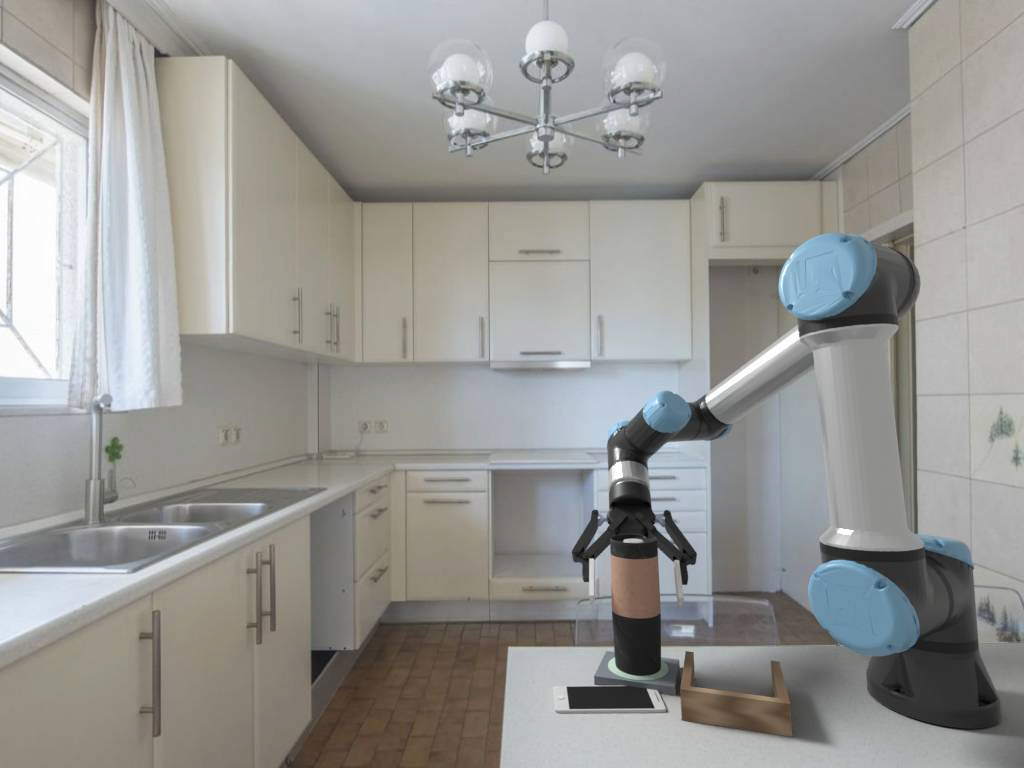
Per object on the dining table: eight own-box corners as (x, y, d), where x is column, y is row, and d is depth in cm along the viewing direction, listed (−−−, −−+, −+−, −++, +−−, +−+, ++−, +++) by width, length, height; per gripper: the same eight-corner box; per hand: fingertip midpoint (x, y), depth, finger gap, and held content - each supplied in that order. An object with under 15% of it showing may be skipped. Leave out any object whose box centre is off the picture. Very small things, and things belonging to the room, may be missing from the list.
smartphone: (553, 691, 85) (552, 685, 85) (655, 690, 84) (655, 684, 84) (555, 716, 78) (554, 709, 78) (666, 716, 77) (666, 708, 77)
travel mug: (614, 675, 86) (610, 543, 87) (612, 654, 93) (608, 533, 94) (665, 677, 84) (660, 543, 86) (659, 656, 92) (655, 533, 93)
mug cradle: (781, 689, 83) (779, 661, 83) (792, 736, 71) (790, 704, 71) (686, 677, 88) (685, 651, 88) (681, 719, 75) (680, 689, 75)
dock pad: (679, 667, 91) (679, 658, 91) (675, 695, 82) (674, 685, 82) (606, 658, 95) (606, 649, 95) (594, 684, 86) (594, 674, 86)
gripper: (698, 504, 103) (717, 615, 87) (563, 504, 108) (558, 610, 92) (701, 478, 98) (721, 591, 83) (560, 479, 103) (553, 586, 87)
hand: (635, 601), depth 87 cm, fingers open, 13 cm apart
